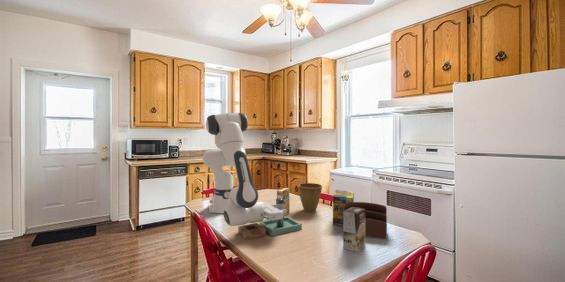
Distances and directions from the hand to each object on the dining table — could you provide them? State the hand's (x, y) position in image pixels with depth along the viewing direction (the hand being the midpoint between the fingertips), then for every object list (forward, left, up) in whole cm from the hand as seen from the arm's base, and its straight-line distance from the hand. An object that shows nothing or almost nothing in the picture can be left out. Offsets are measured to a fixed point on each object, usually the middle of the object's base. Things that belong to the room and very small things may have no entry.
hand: (281, 208), depth 134 cm
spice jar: (0, -1, -9) cm, 9 cm away
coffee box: (+35, +16, -10) cm, 40 cm away
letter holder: (+26, +32, -10) cm, 43 cm away
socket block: (0, -17, -10) cm, 20 cm away
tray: (0, -1, -10) cm, 10 cm away
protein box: (+9, +34, -10) cm, 37 cm away
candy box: (-18, +11, -10) cm, 24 cm away
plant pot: (-17, +30, -10) cm, 36 cm away
